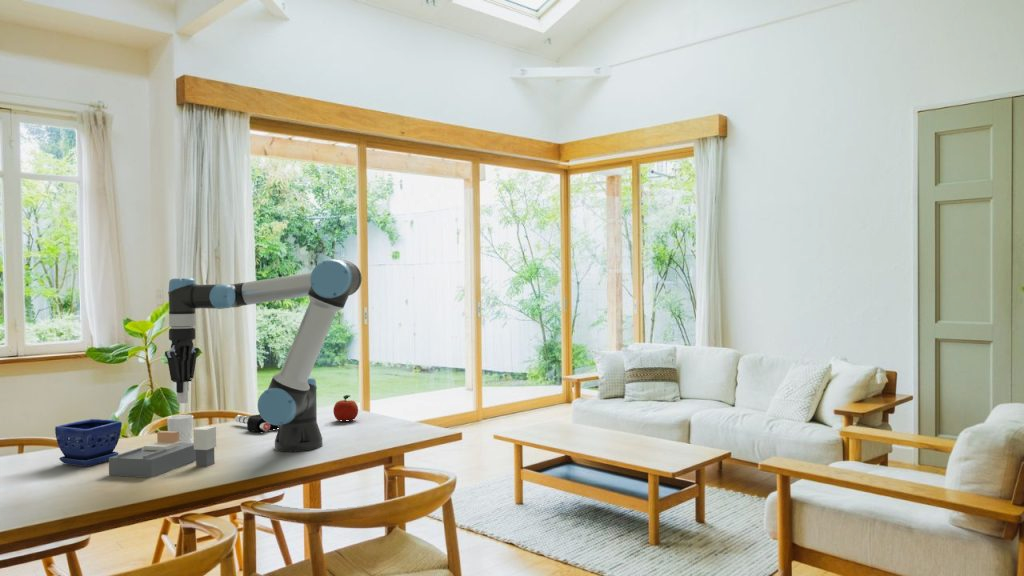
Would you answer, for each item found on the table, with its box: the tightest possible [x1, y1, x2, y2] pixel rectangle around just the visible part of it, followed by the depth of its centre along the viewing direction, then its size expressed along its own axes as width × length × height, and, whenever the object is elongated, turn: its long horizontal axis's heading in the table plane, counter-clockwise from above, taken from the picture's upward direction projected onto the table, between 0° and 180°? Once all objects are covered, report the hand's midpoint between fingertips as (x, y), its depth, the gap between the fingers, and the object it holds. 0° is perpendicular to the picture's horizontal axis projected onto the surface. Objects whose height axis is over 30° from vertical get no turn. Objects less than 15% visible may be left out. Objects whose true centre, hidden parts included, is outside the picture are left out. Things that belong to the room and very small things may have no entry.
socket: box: [108, 442, 196, 478], centre depth 204 cm, size 14×20×6 cm
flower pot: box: [54, 418, 123, 467], centre depth 211 cm, size 13×13×12 cm
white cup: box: [166, 414, 194, 443], centre depth 231 cm, size 8×8×10 cm
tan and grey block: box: [143, 430, 181, 451], centre depth 207 cm, size 7×7×4 cm
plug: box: [192, 425, 217, 467], centre depth 206 cm, size 4×4×11 cm
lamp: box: [234, 413, 280, 434], centre depth 259 cm, size 11×5×25 cm
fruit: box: [333, 394, 359, 421], centre depth 271 cm, size 10×10×10 cm
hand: (182, 402), depth 216 cm, fingers closed
